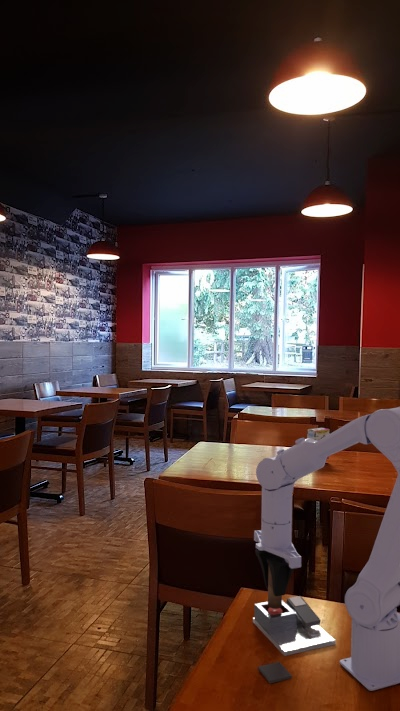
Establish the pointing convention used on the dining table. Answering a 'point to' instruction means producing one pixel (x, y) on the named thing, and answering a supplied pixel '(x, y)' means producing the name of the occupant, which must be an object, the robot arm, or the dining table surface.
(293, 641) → the panel
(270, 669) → the pad
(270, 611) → the button
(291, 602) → the block
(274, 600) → the dowel
